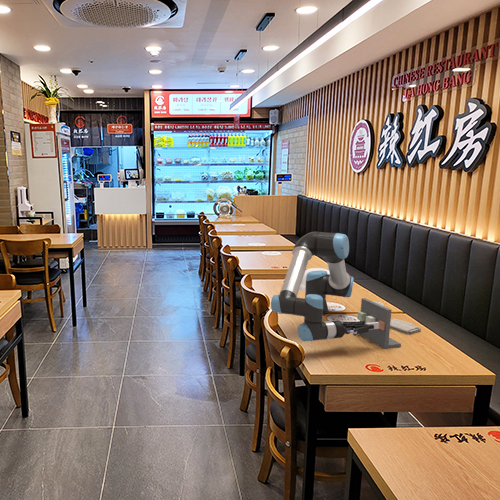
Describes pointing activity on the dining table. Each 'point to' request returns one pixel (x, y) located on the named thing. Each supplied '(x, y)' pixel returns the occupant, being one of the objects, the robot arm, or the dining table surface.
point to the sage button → (361, 316)
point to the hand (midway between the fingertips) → (377, 325)
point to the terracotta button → (381, 325)
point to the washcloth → (404, 326)
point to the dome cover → (303, 283)
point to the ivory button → (370, 319)
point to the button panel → (380, 314)
